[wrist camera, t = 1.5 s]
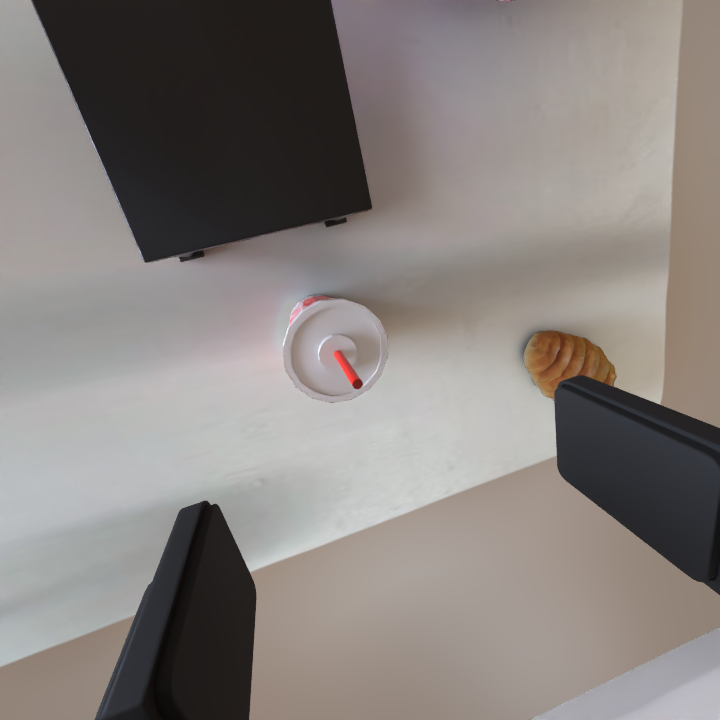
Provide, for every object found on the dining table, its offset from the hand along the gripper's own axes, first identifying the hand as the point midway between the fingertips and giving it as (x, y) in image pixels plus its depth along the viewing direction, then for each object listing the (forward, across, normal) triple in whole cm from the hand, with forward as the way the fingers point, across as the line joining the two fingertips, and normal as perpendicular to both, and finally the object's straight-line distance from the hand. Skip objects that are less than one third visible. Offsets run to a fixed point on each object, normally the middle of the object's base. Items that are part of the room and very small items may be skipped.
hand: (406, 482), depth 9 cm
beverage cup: (+21, 0, 0) cm, 21 cm away
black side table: (+20, +2, -14) cm, 25 cm away
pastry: (+21, -22, +10) cm, 32 cm away
